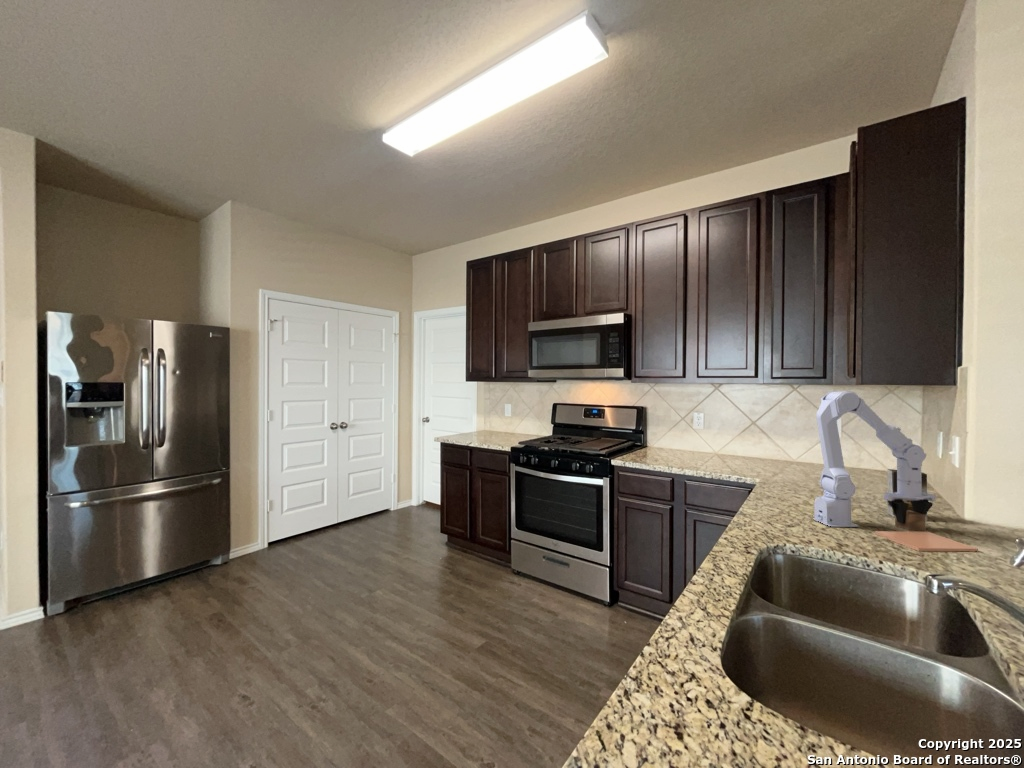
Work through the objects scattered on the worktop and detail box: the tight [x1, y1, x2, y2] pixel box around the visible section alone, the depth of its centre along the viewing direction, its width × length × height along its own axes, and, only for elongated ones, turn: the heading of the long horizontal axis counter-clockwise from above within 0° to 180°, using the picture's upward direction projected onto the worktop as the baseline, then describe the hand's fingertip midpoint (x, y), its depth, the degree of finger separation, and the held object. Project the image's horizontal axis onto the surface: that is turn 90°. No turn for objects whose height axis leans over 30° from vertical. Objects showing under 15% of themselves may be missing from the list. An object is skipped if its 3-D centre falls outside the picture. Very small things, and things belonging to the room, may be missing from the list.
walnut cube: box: [894, 510, 926, 532], centre depth 134 cm, size 5×5×5 cm
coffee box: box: [886, 468, 928, 522], centre depth 146 cm, size 9×6×16 cm
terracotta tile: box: [874, 530, 979, 553], centre depth 121 cm, size 16×14×1 cm
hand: (909, 522), depth 134 cm, fingers closed on walnut cube, 5 cm apart
